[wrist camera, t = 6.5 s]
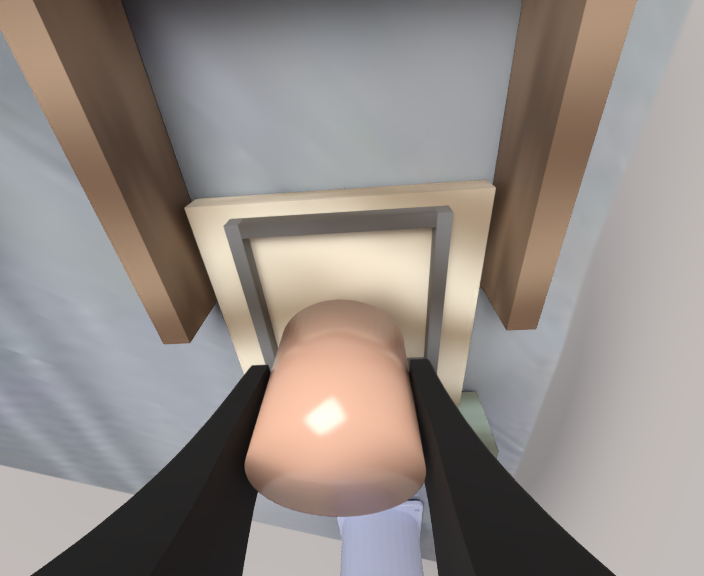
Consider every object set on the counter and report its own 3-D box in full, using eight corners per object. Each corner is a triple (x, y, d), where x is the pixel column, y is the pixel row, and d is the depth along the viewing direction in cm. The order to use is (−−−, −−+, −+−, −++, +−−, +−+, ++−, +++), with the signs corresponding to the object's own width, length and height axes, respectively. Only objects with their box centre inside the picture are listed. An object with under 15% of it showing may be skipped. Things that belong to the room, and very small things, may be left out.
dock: (501, 278, 17) (536, 329, 13) (200, 293, 18) (163, 344, 14) (597, -187, 9) (743, -350, 5) (40, -118, 10) (-129, -220, 6)
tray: (473, 402, 22) (495, 462, 18) (246, 408, 23) (226, 467, 19) (519, 177, 14) (572, 210, 10) (166, 200, 15) (107, 238, 11)
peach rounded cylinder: (402, 389, 14) (420, 516, 10) (291, 391, 15) (264, 517, 11) (406, 296, 12) (433, 418, 8) (270, 301, 12) (223, 422, 8)
